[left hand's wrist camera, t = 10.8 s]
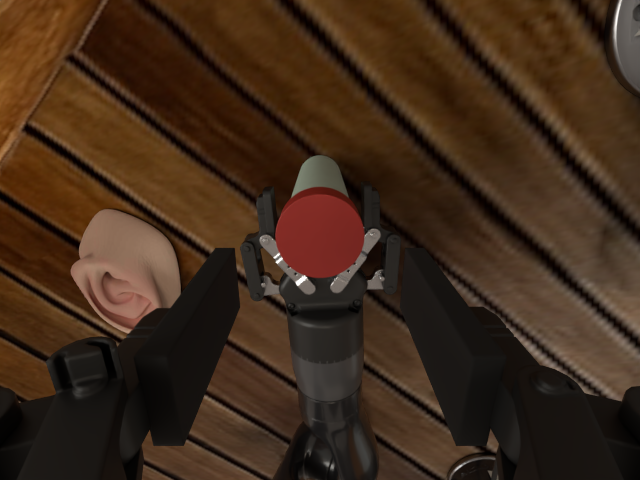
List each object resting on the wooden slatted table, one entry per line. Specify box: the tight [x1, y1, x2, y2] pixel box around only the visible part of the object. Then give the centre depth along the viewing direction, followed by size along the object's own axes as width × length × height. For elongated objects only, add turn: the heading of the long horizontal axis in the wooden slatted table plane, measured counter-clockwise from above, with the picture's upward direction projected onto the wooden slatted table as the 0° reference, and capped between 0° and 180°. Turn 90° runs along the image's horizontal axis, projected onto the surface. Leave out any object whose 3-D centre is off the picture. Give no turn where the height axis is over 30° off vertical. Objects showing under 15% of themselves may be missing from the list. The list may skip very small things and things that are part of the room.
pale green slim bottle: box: [291, 155, 349, 198], centre depth 28 cm, size 4×4×18 cm
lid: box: [275, 187, 365, 278], centre depth 20 cm, size 5×5×2 cm
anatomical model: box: [71, 209, 181, 333], centre depth 38 cm, size 13×4×12 cm
